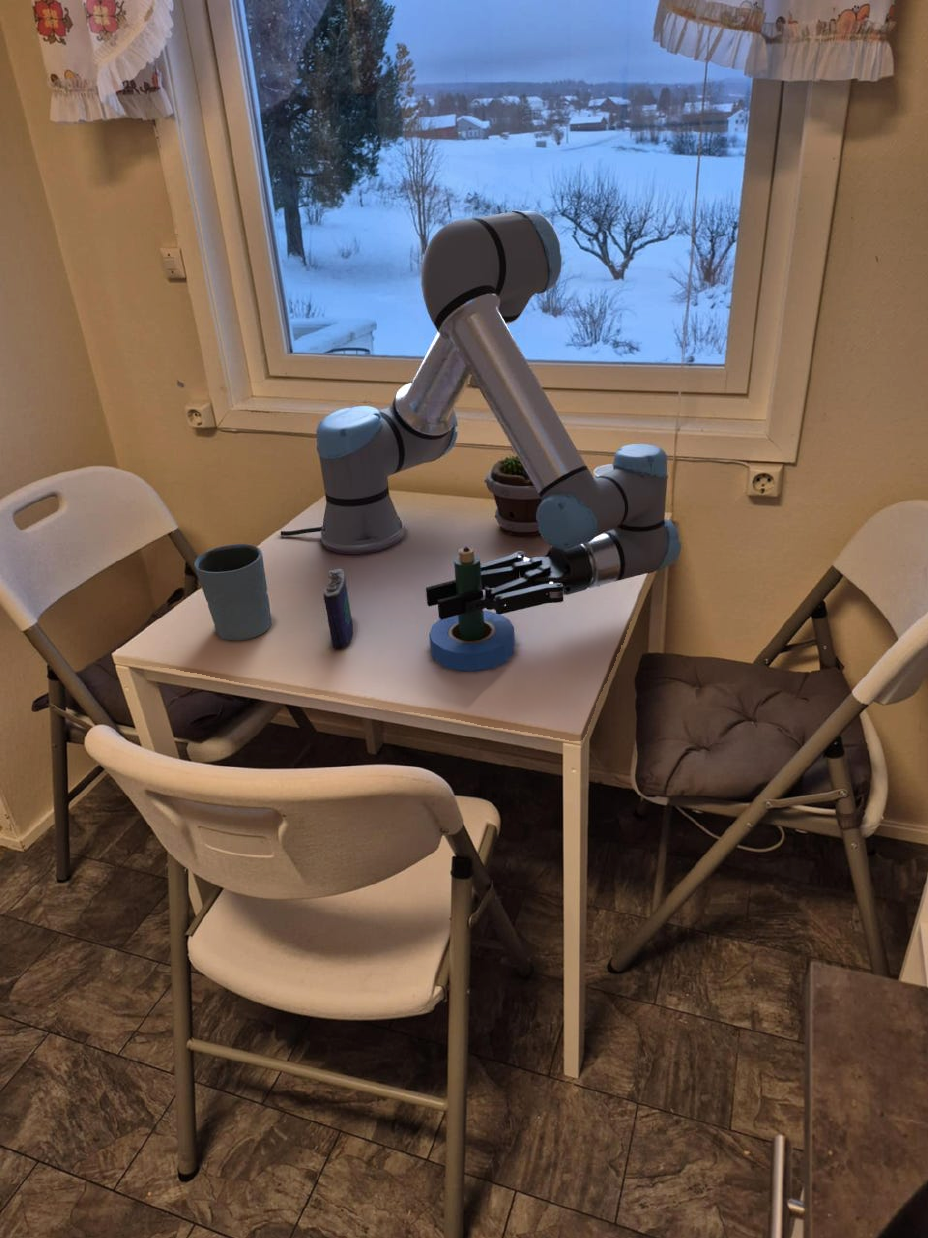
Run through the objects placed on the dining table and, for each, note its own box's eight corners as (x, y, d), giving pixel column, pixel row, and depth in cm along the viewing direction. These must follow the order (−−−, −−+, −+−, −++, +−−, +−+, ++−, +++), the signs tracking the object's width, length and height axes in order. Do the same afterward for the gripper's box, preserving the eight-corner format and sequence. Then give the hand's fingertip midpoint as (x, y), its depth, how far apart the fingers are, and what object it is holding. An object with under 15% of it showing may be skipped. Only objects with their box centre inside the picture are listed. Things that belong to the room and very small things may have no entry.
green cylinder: (455, 644, 123) (447, 550, 115) (468, 632, 125) (461, 539, 118) (476, 649, 121) (470, 554, 114) (489, 637, 124) (484, 544, 116)
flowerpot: (566, 543, 153) (565, 434, 143) (481, 541, 156) (475, 434, 146) (571, 511, 165) (571, 409, 155) (493, 510, 168) (488, 410, 158)
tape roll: (415, 658, 122) (413, 641, 121) (459, 620, 131) (458, 603, 130) (488, 679, 117) (487, 661, 115) (528, 638, 125) (528, 620, 124)
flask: (337, 619, 134) (327, 557, 129) (355, 618, 134) (347, 556, 129) (330, 650, 126) (320, 586, 121) (350, 649, 126) (340, 585, 120)
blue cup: (245, 648, 128) (229, 577, 122) (196, 635, 132) (178, 565, 126) (289, 617, 135) (276, 549, 129) (241, 605, 140) (226, 538, 134)
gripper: (611, 610, 120) (458, 654, 113) (553, 565, 134) (414, 602, 126) (612, 562, 117) (454, 604, 109) (553, 521, 130) (409, 556, 123)
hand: (433, 603), depth 118 cm, fingers closed on green cylinder, 4 cm apart
